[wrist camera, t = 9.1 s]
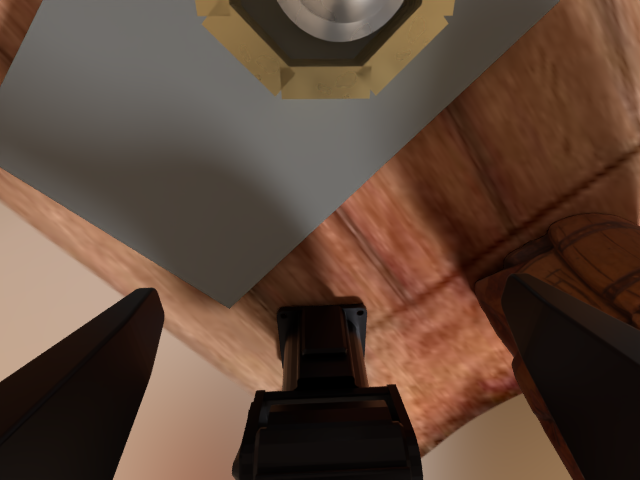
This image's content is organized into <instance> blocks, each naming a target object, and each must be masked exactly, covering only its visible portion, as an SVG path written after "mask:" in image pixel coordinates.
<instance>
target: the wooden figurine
mask: <svg viewBox="0 0 640 480" xmlns="http://www.w3.org/2000/svg"><path fill="white" fill-rule="evenodd" d="M512 273H528V274H530V275H532V276H534V277H536V278H538V279H540V280H542V281H544V282H546V283H548V284H550V285H552V286H553V287H555V288H557V289H559V290H561V291H563V292H565V293H567V294H569V295H571V296H573V297H575V298H577V299H579V300H581V301H583V302H585V303H587V304H589V305H591V306H593V307H595V308H597V309H599V310H601V311H602V312H604V313H606V314H608V315H610V316H612V317H614V318H616V319H618V320H620V321H622V322H624V323H626V324H628V325H630V326H632V327H634V328H636V329H638V330H640V226H638V225H636V224H634V223H632V222H630V221H627V220H625V219H623V218H620V217H618V216H615V215H610V214H608V215H605V214H597V213H589V214H581V215H576V216H572V217H567V218H564V219H562V220H560V221H558V222H555V223H554V224H552V225H551V226H550V227H549V230H548V233H547V234H546V235H545V236H543V237H542V238H539V239H537V240H533V241H531V242H528V243H526V244H525V245H524V246H523V247H522V248H519V249H517V250H515V251H513V252H511V253H510V254H509V255H508V256H507V257H506V258H505V260H504V268H503V270H502V271H500V272H498V273H495V274H493V275H490V276H487V277H485V278H484V279H481V280H479V281H477V282H476V283H475V293H476V297H477V299H478V302H479V304H480V306H481V308H482V309H483V311H484V312H485V314H486V316H487V318H488V320H489V321H490V324H491V325H492V327H493V329H494V330H495V332H496V334H497V336H498V337H499V338H500V339H501V340H502V342H503V343H504V345H505V346H506V347H507V349H508V350H509V351H510V353H511V354H512V355H513V357H514V359H513V361H512V368H513V372H514V375H515V378H516V380H517V382H518V384H519V386H520V389H521V390H522V392H523V394H524V396H525V398H526V399H527V402H528V404H529V405H530V407H531V409H532V411H533V413H534V414H535V415H536V416H537V418H538V420H539V421H540V423H541V425H542V427H543V429H544V431H545V433H546V434H547V436H548V438H549V440H550V441H551V443H552V445H553V446H554V448H555V450H556V451H557V453H558V455H559V457H560V458H561V460H562V462H563V464H564V465H565V467H566V469H567V470H568V472H569V474H570V476H571V477H572V479H573V480H585V479H584V477H583V475H582V473H581V471H580V469H579V468H578V466H577V464H576V462H575V460H574V458H573V456H572V454H571V452H570V450H569V448H568V446H567V445H566V443H565V441H564V439H563V437H562V435H561V433H560V431H559V429H558V427H557V425H556V423H555V422H554V420H553V418H552V416H551V414H550V412H549V410H548V408H547V406H546V404H545V402H544V400H543V399H542V397H541V395H540V393H539V391H538V389H537V387H536V385H535V383H534V381H533V379H532V377H531V376H530V374H529V372H528V370H527V368H526V366H525V364H524V362H523V360H522V357H521V355H520V353H519V350H518V348H517V345H516V343H515V340H514V338H513V335H512V333H511V330H510V327H509V325H508V322H507V320H506V317H505V315H504V312H503V309H502V306H501V296H502V293H503V290H504V286H505V283H506V280H507V277H508V276H509V275H510V274H512Z"/></svg>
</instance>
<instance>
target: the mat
mask: <svg viewBox="0 0 640 480" xmlns="http://www.w3.org/2000/svg"><path fill="white" fill-rule="evenodd" d="M559 1H560V0H455V3H454V10H453V16H444V18H445V19H446V20H447V22H448V23H449V24H448V25H447V26H446V27H445V28H444V29H442V30H441V31H440V32H439V33H438V34H437V35H436V36H435V37H434V38H433V39H432V40H431V41H430V42H429V43H428V44H427V45H426V46H425V47H424V48H423V49H422V50H421V51H420V52H419V53H418V54H417V55H416V56H415V57H414V58H413V59H412V60H411V61H410V62H409V63H408V64H407V65H406V66H405V67H404V68H403V69H402V70H401V71H400V72H399V73H398V74H397V75H396V76H395V77H394V78H393V79H392V80H391V81H390V82H389V83H388V84H387V85H386V86H385V87H384V88H383V89H382V90H381V91H380V92H379V93H378V94H377V95H375V94H374V93H373V92H372V91H371V90H370V99H282V95H281V91H280V92H279V93H278V94H277V95H276V97H275V96H274V95H273V94H272V93H271V92H270V91H269V90H268V89H267V88H266V87H265V86H264V85H263V84H262V83H261V82H260V81H259V80H258V79H257V78H256V77H255V76H254V75H253V74H252V73H251V72H250V71H249V70H248V69H247V68H246V67H245V66H244V65H243V64H242V63H241V62H239V61H238V60H237V59H236V58H235V57H234V56H233V55H232V54H231V53H230V52H229V51H228V50H227V49H226V48H225V47H224V46H223V45H222V44H221V43H220V42H219V41H218V40H217V39H216V38H215V37H214V36H213V35H212V34H211V33H210V32H209V31H208V30H207V29H206V28H205V27H204V26H203V25H202V23H203V21H204V20H205V19H206V17H207V16H197V10H196V4H195V0H43V1H42V3H41V5H40V7H39V9H38V11H37V13H36V15H35V17H34V19H33V21H32V23H31V25H30V28H29V30H28V32H27V34H26V36H25V38H24V40H23V42H22V44H21V46H20V48H19V50H18V52H17V54H16V56H15V58H14V60H13V62H12V64H11V66H10V68H9V70H8V72H7V74H6V76H5V78H4V80H3V82H2V84H1V86H0V167H1V168H2V169H4V170H6V171H7V172H9V173H10V174H12V175H14V176H15V177H17V178H19V179H20V180H22V181H23V182H25V183H27V184H28V185H30V186H32V187H33V188H35V189H36V190H38V191H40V192H41V193H43V194H44V195H46V196H48V197H49V198H51V199H53V200H54V201H56V202H57V203H59V204H61V205H62V206H64V207H65V208H67V209H69V210H70V211H72V212H74V213H75V214H77V215H78V216H80V217H82V218H83V219H85V220H87V221H88V222H90V223H91V224H93V225H95V226H96V227H98V228H99V229H101V230H103V231H104V232H106V233H108V234H109V235H111V236H112V237H114V238H116V239H117V240H119V241H121V242H122V243H124V244H125V245H127V246H129V247H130V248H132V249H133V250H135V251H137V252H138V253H140V254H142V255H143V256H145V257H146V258H148V259H150V260H151V261H153V262H155V263H156V264H158V265H159V266H161V267H163V268H164V269H166V270H167V271H169V272H171V273H172V274H174V275H176V276H177V277H179V278H180V279H182V280H184V281H185V282H187V283H189V284H190V285H192V286H193V287H195V288H197V289H198V290H200V291H201V292H203V293H205V294H206V295H208V296H210V297H211V298H213V299H214V300H216V301H218V302H219V303H221V304H222V305H224V306H226V307H227V308H229V309H230V308H231V307H232V306H233V305H234V304H235V303H236V302H237V301H238V300H239V299H240V298H241V297H242V296H244V295H245V294H246V293H247V292H248V291H249V290H250V289H251V288H252V287H253V286H254V285H255V284H256V283H258V282H259V281H260V280H261V279H262V278H263V277H264V276H265V275H266V274H267V273H268V272H269V271H270V270H271V269H273V268H274V267H275V266H276V265H277V264H278V263H279V262H280V261H281V260H282V259H283V258H284V257H285V256H287V255H288V254H289V253H290V252H291V251H292V250H293V249H294V248H295V247H296V246H297V245H298V244H299V243H300V242H302V241H303V240H304V239H305V238H306V237H307V236H308V235H309V234H310V233H311V232H312V231H313V230H314V229H316V228H317V227H318V226H319V225H320V224H321V223H322V222H323V221H324V220H325V219H326V218H327V217H328V216H329V215H331V214H332V213H333V212H334V211H335V210H336V209H337V208H338V207H339V206H340V205H341V204H342V203H343V202H345V201H346V200H347V199H348V198H349V197H350V196H351V195H352V194H353V193H354V192H355V191H356V190H357V189H358V188H360V187H361V186H362V185H363V184H364V183H365V182H366V181H367V180H368V179H369V178H370V177H371V176H372V175H374V174H375V173H376V172H377V171H378V170H379V169H380V168H381V167H382V166H383V165H384V164H385V163H386V162H387V161H389V160H390V159H391V158H392V157H393V156H394V155H395V154H396V153H397V152H398V151H399V150H400V149H401V148H403V147H404V146H405V145H406V144H407V143H408V142H409V141H410V140H411V139H412V138H413V137H414V136H415V135H416V134H418V133H419V132H420V131H421V130H422V129H423V128H424V127H425V126H426V125H427V124H428V123H429V122H430V121H432V120H433V119H434V118H435V117H436V116H437V115H438V114H439V113H440V112H441V111H442V110H443V109H444V108H445V107H447V106H448V105H449V104H450V103H451V102H452V101H453V100H454V99H455V98H456V97H457V96H458V95H459V94H461V93H462V92H463V91H464V90H465V89H466V88H467V87H468V86H469V85H470V84H471V83H472V82H473V81H474V80H476V79H477V78H478V77H479V76H480V75H481V74H482V73H483V72H484V71H485V70H486V69H487V68H488V67H490V66H491V65H492V64H493V63H494V62H495V61H496V60H497V59H498V58H499V57H500V56H501V55H502V54H503V53H505V52H506V51H507V50H508V49H509V48H510V47H511V46H512V45H513V44H514V43H515V42H516V41H517V40H519V39H520V38H521V37H522V36H523V35H524V34H525V33H526V32H527V31H528V30H529V29H530V28H531V27H532V26H534V25H535V24H536V23H537V22H538V21H539V20H540V19H541V18H542V17H543V16H544V15H545V14H546V13H548V12H549V11H550V10H551V9H552V8H553V7H554V6H555V5H556V4H557V3H558V2H559ZM403 2H404V1H403ZM241 6H242V7H243V9H244V10H245V11H246V12H247V13H248V14H249V15H250V16H251V17H252V18H253V19H254V20H255V21H256V22H257V23H258V24H259V25H260V27H261V28H262V29H263V30H264V31H265V32H266V33H267V34H268V35H269V36H270V37H271V38H272V39H273V40H274V41H275V42H276V43H277V44H278V46H279V47H280V48H281V49H282V50H283V51H284V52H285V53H286V54H287V55H288V56H289V57H290V58H291V59H354V58H355V57H356V56H357V55H358V54H359V53H360V52H361V51H362V50H363V48H364V47H365V46H366V45H367V44H368V43H369V42H370V41H371V40H372V39H373V38H374V37H375V36H376V35H377V34H378V32H379V31H380V30H381V29H382V28H383V27H384V26H385V25H386V24H387V23H388V22H389V21H390V20H391V19H392V17H393V16H394V15H395V14H396V13H397V12H398V11H399V10H400V9H401V8H402V7H403V3H402V4H401V6H400V7H399V9H398V10H397V11H396V13H395V14H394V15H393V16H392V17H391V18H390V19H389V20H388V21H387V22H386V23H385V24H384V25H383V26H382V27H380V28H379V29H378V30H376V31H375V32H373V33H371V34H369V35H367V36H365V37H362V38H360V39H356V40H352V41H346V42H332V41H327V40H322V39H320V38H317V37H314V36H312V35H310V34H308V33H307V32H305V31H304V30H302V29H301V28H299V27H298V26H297V25H296V24H295V23H294V22H293V21H292V20H291V19H290V18H289V17H288V16H287V15H286V13H285V12H284V11H283V9H282V8H281V6H280V5H279V3H278V2H277V0H241Z"/></svg>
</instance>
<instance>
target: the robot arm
mask: <svg viewBox="0 0 640 480" xmlns="http://www.w3.org/2000/svg"><path fill="white" fill-rule="evenodd" d="M501 306H502V309H503V312H504V315H505V317H506V320H507V322H508V325H509V327H510V330H511V333H512V335H513V338H514V340H515V343H516V345H517V348H518V350H519V353H520V355H521V357H522V360H523V362H524V364H525V366H526V368H527V370H528V372H529V374H530V376H531V377H532V379H533V381H534V383H535V385H536V387H537V389H538V391H539V393H540V395H541V397H542V399H543V400H544V402H545V404H546V406H547V408H548V410H549V412H550V414H551V416H552V418H553V420H554V422H555V423H556V425H557V427H558V429H559V431H560V433H561V435H562V437H563V439H564V441H565V443H566V445H567V446H568V448H569V450H570V452H571V454H572V456H573V458H574V460H575V462H576V464H577V466H578V468H579V469H580V471H581V473H582V475H583V477H584V479H585V480H640V330H638V329H636V328H634V327H632V326H630V325H628V324H626V323H624V322H622V321H620V320H618V319H616V318H614V317H612V316H610V315H608V314H606V313H604V312H602V311H601V310H599V309H597V308H595V307H593V306H591V305H589V304H587V303H585V302H583V301H581V300H579V299H577V298H575V297H573V296H571V295H569V294H567V293H565V292H563V291H561V290H559V289H557V288H555V287H553V286H552V285H550V284H548V283H546V282H544V281H542V280H540V279H538V278H536V277H534V276H532V275H530V274H528V273H512V274H510V275H509V276H508V277H507V280H506V283H505V286H504V290H503V293H502V296H501ZM359 310H362V311H361V312H357V311H359ZM283 313H284V314H286V315H282V314H283ZM366 322H367V310H366V307H365V305H363V304H347V305H323V306H298V307H281V308H279V309H278V311H277V323H278V332H279V341H280V350H281V359H282V368H283V385H282V391H270V392H265V390H257V391H256V394H255V398H254V402H252V403H251V406H250V410H249V412H248V419H247V423H246V427H245V431H244V435H243V439H242V443H241V446H240V448H239V451H238V453H237V455H236V458H235V460H234V462H233V466H232V475H233V477H234V478H235V480H423V472H422V464H421V457H420V452H419V447H418V443H417V439H416V435H415V433H414V430H413V427H412V425H411V422H410V419H409V417H408V414H407V412H406V409H405V407H404V404H403V402H402V399H401V397H400V394H399V392H398V389H397V387H396V384H391V385H387V386H381V387H369V385H368V380H367V374H366V368H365V362H364V355H365V338H366ZM163 324H164V310H163V307H162V304H161V301H160V298H159V295H158V292H157V290H156V289H154V288H139V289H136V290H135V291H133V292H132V293H130V294H129V295H127V296H126V297H124V298H123V299H121V300H120V301H118V302H117V303H116V304H114V305H113V306H111V307H110V308H108V309H107V310H105V311H104V312H102V313H101V314H99V315H98V316H97V317H95V318H94V319H92V320H91V321H89V322H88V323H86V324H85V325H83V326H82V327H80V328H79V329H77V330H76V331H75V332H73V333H71V334H70V335H69V336H68V337H66V338H64V339H63V340H61V341H60V342H58V343H57V344H55V345H54V346H52V347H51V348H50V349H48V350H47V351H45V352H44V353H42V354H41V355H39V356H38V357H36V358H35V359H33V360H32V361H30V362H29V363H27V364H26V365H25V366H23V367H22V368H20V369H19V370H17V371H16V372H14V373H13V374H11V375H10V376H8V377H7V378H5V379H4V380H3V381H1V382H0V480H113V477H114V475H115V472H116V469H117V466H118V464H119V461H120V458H121V456H122V453H123V450H124V447H125V445H126V442H127V439H128V437H129V434H130V431H131V428H132V426H133V423H134V420H135V417H136V415H137V412H138V409H139V407H140V404H141V401H142V398H143V396H144V393H145V390H146V387H147V385H148V382H149V379H150V376H151V372H152V369H153V365H154V361H155V356H156V353H157V348H158V344H159V340H160V336H161V332H162V328H163Z"/></svg>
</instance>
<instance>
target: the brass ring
mask: <svg viewBox="0 0 640 480" xmlns="http://www.w3.org/2000/svg"><path fill="white" fill-rule="evenodd" d="M454 3H455V0H404V2H403V7H402V8H401V9H400V10H399V11H398V12H397V13H396V14H395V15H394V16H393V17H392V19H391V20H390V21H389V22H388V23H387V24H386V25H385V26H384V27H383V28H382V29H381V30H380V31H379V32H378V34H377V35H376V36H375V37H374V38H373V39H372V40H371V41H370V42H369V43H368V44H367V45H366V46H365V47H364V48H363V50H362V51H361V52H360V53H359V54H358V55H357V56H356V57H355V58H354V59H291V58H290V57H289V56H288V55H287V54H286V53H285V52H284V51H283V50H282V49H281V48H280V47H279V46H278V44H277V43H276V42H275V41H274V40H273V39H272V38H271V37H270V36H269V35H268V34H267V33H266V32H265V31H264V30H263V29H262V28H261V27H260V25H259V24H258V23H257V22H256V21H255V20H254V19H253V18H252V17H251V16H250V15H249V14H248V13H247V12H246V11H245V10H244V9H243V7H242V6H241V0H195V4H196V10H197V16H207V17H206V19H205V20H204V21H203V23H202V25H203V26H204V27H205V28H206V29H207V30H208V31H209V32H210V33H211V34H212V35H213V36H214V37H215V38H216V39H217V40H218V41H219V42H220V43H221V44H222V45H223V46H224V47H225V48H226V49H227V50H228V51H229V52H230V53H231V54H232V55H233V56H234V57H235V58H236V59H237V60H238V61H239V62H241V63H242V64H243V65H244V66H245V67H246V68H247V69H248V70H249V71H250V72H251V73H252V74H253V75H254V76H255V77H256V78H257V79H258V80H259V81H260V82H261V83H262V84H263V85H264V86H265V87H266V88H267V89H268V90H269V91H270V92H271V93H272V94H273V95H274V96H275V97H276V95H277V94H278V93H279V92H280V91H281V95H282V99H370V90H371V91H372V92H373V93H374V94H375V95H377V94H378V93H379V92H380V91H381V90H382V89H383V88H384V87H385V86H386V85H387V84H388V83H389V82H390V81H391V80H392V79H393V78H394V77H395V76H396V75H397V74H398V73H399V72H400V71H401V70H402V69H403V68H404V67H405V66H406V65H407V64H408V63H409V62H410V61H411V60H412V59H413V58H414V57H415V56H416V55H417V54H418V53H419V52H420V51H421V50H422V49H423V48H424V47H425V46H426V45H427V44H428V43H429V42H430V41H431V40H432V39H433V38H434V37H435V36H436V35H437V34H438V33H439V32H440V31H441V30H442V29H444V28H445V27H446V26H447V25H448V24H449V23H448V22H447V20H446V19H445V18H444V16H453V10H454Z"/></svg>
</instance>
